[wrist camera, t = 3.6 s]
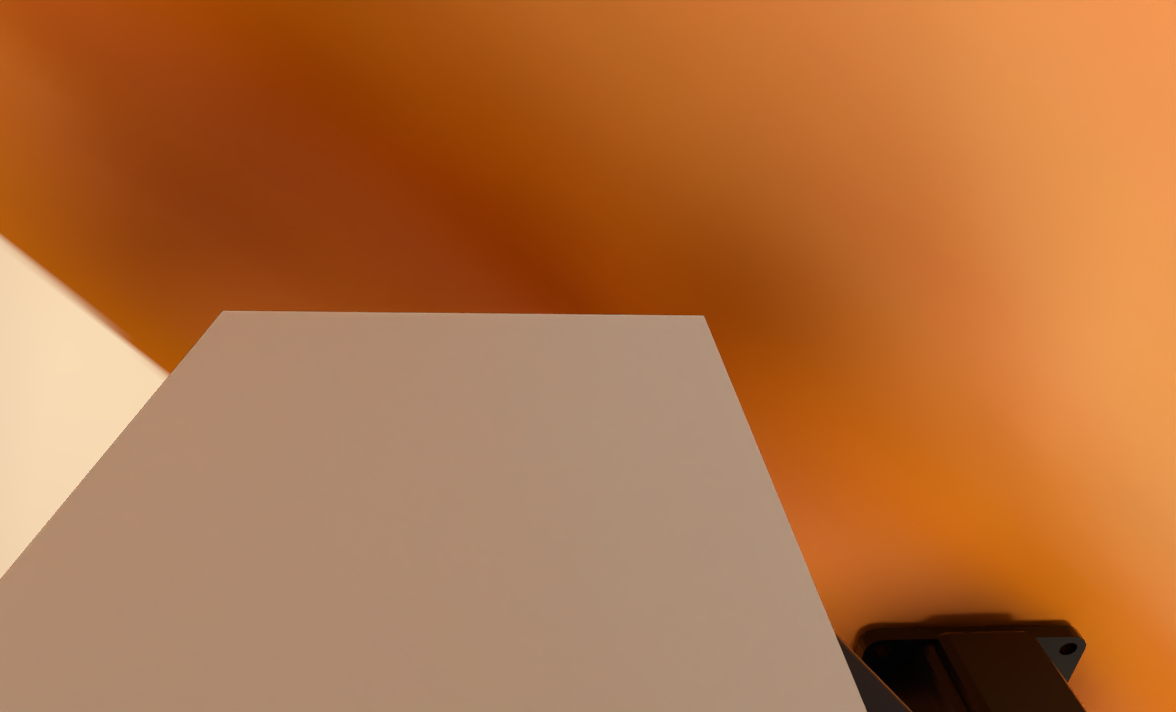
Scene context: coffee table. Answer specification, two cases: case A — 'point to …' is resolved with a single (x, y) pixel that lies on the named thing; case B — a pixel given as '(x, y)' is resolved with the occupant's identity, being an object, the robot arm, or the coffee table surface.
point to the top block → (426, 531)
